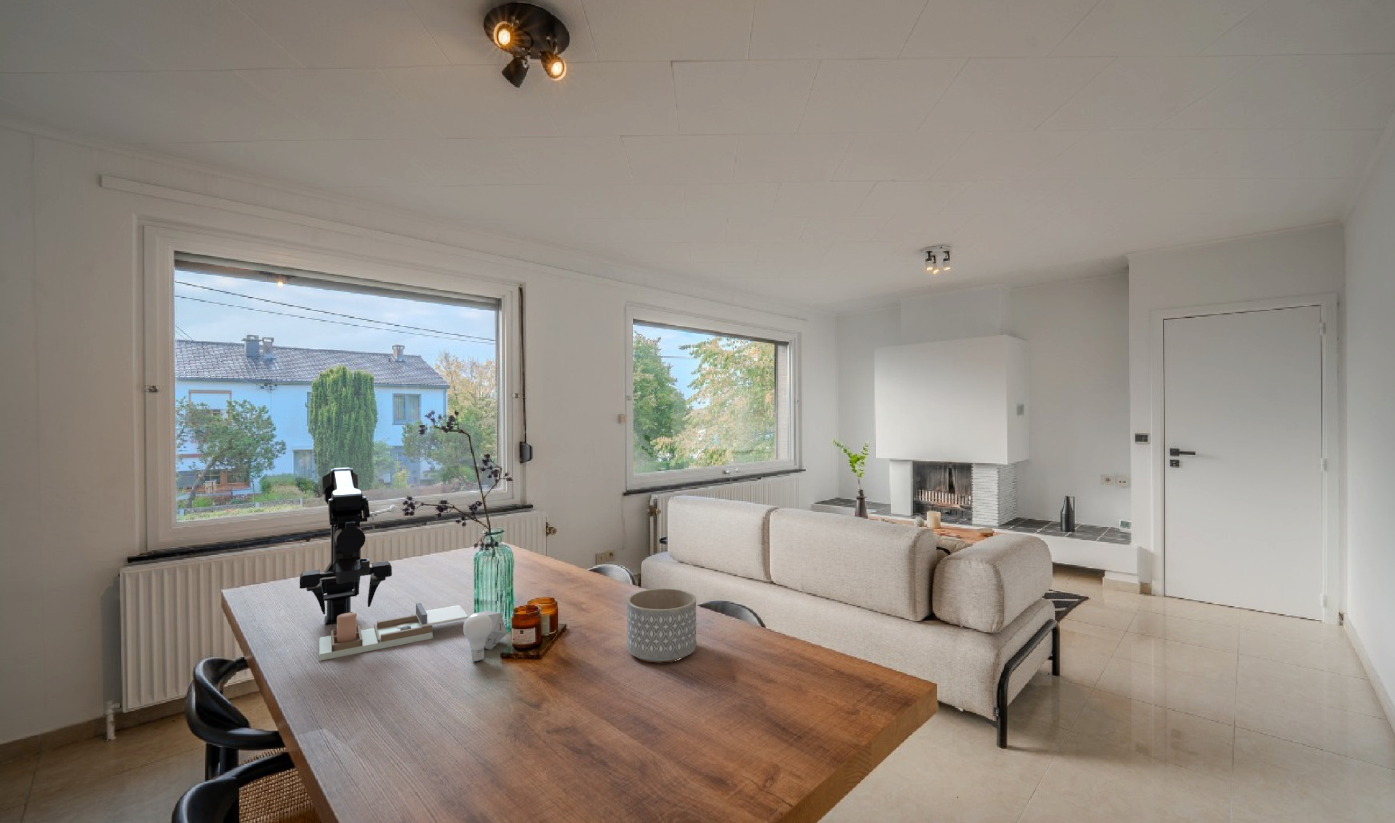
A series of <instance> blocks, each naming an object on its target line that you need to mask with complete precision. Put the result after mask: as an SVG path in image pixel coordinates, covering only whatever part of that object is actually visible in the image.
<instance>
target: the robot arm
mask: <svg viewBox="0 0 1395 823" xmlns="http://www.w3.org/2000/svg"><path fill="white" fill-rule="evenodd" d="M358 476H359V475H358V474H356V473H355V472H354V469H353V467H352V468H351V467H335V468H331V469H330V472H329V473H327V474H325V475H323V476H322V477H321V496H322V495H323V497H324V501H325V503H326V504H327V506H328V511H327V512H328V523H329V526H330V562H329V563H328V565H327V566H326V568H325V569H324V572H321V569H312V570H305V571H302V572H301V573H300V574H299V589H303V590H304V589H306V591H307V592H312V593H313V594H314V596H315V598H316V599H317V602H318V604H319V606H320V609H321V612H322V614H323V615H325V616H324V624H325V625H330V624H337V616H339V615H341V614H344V613H353V612H352V611H351V610H352V608H351V607H352V606H351V605H352V597H358V595H359V594H360V583H361V582H360V581H361V577H365V576H369V585H368V594H367V607H368V608H370V607H371V605H372V602H373V600H374V597H375V593H376V591H377V589H378V587H379V585H380V583H381V582H384V581H386V579H387V578H389V577H390V578H391V577H392V575H393V566H392V564H391V563H390V562H389V561H388V560H386V561H385V560H384V561H377V562H371V561H370V558H369V557H367V558H365V557H364V558H362V552H361V551H362V548H363V547H364V545H365V543H366V535H365V533H364V531H363V530H362V524H361V523H367V522H368V518H370V506H369V500H368V499H367V497H366V496H364V494H363V492H362V490H361V489H359V477H358ZM370 562H371V563H372V564H371V563H370ZM370 564H371V566H370Z"/></svg>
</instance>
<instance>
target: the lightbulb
mask: <svg viewBox="0 0 1395 823" xmlns="http://www.w3.org/2000/svg"><path fill="white" fill-rule="evenodd" d="M481 612H482V611H480V612H479V611H478V612H475V613H471V615H469V616H468V618H467V619H465V621H464V623H463V626H462V630H463V631H462V632H463V634H464V637H465V638H466V640H467V641H468V643H469V647H470V649H471V660H472V661H473V662H476V663H477V662H481V661H483V659H484V658H485V648H484V647H485V644H486V640H487V638H488V636H489V635H490V633H491V631H492V626H493V624H492V620H491V618H490V617H489V616H488V615H487V614H485V613H481Z"/></svg>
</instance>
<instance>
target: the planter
mask: <svg viewBox="0 0 1395 823" xmlns="http://www.w3.org/2000/svg"><path fill="white" fill-rule="evenodd" d="M696 598H697V597H696V595H695V594H693V593H692V592H689V591H686V590H682V589H677V588H652V589H645V590H640V591H637V592H634V593H633V594H631V595H629V597H628V598H627V606H626V607H627V615H626V616H627V626H626V627H627V631H626V632H627V637H626V638H627V640H626V641H627V646H626V647H627V651H628V652H629V654H631V656H634V657H636V658H637V659H639V660H641V661H643V662H645V663H646V662H647V663H651V662H670V663H672V662H671V661H675V660H677V659H679V658H683V657H685V656H686V657H688V656H690V655H691V654H692V653H694V652H695V651H696V649H697V599H696ZM686 657H685V658H686ZM683 659H684V658H683ZM675 662H676V661H675Z"/></svg>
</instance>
